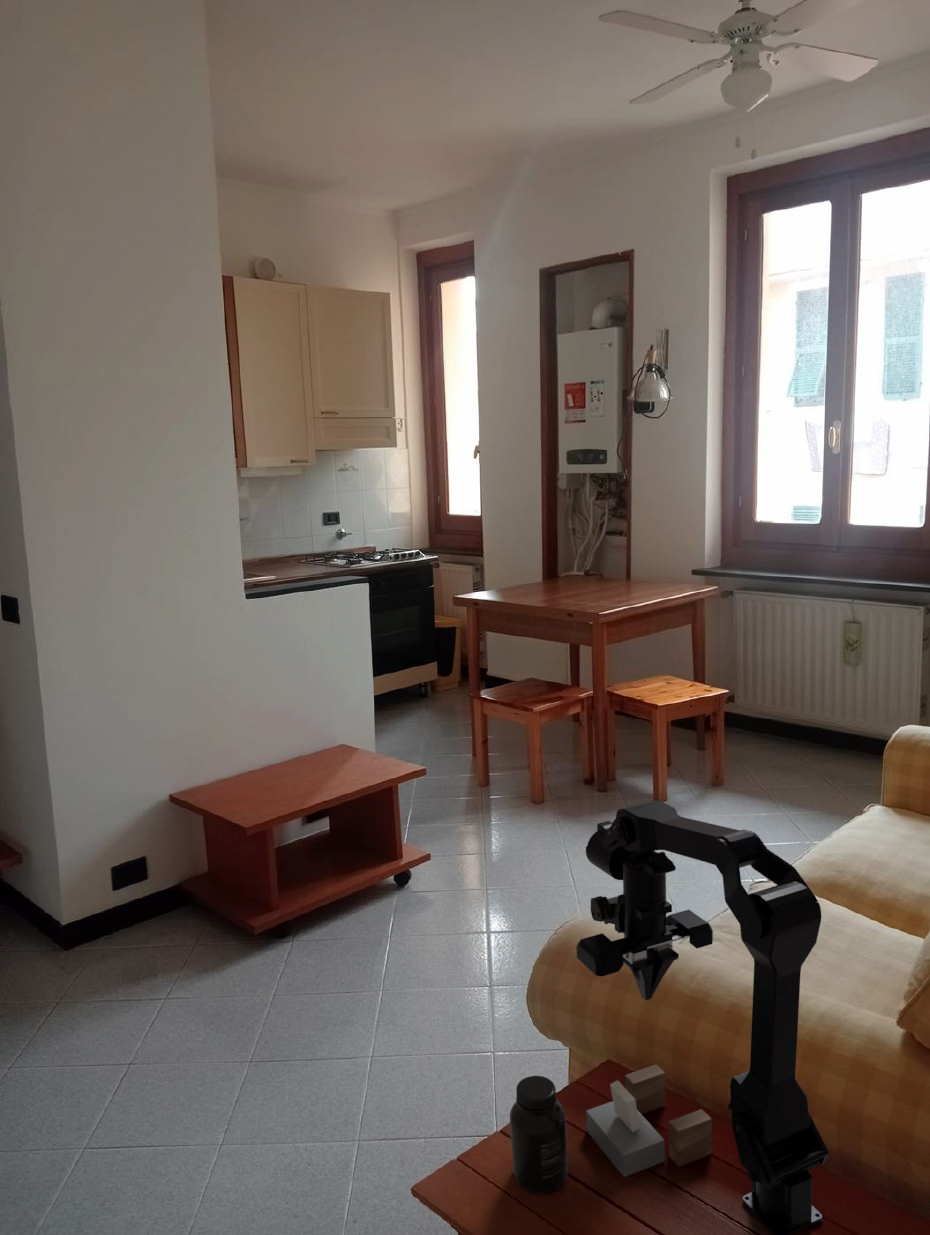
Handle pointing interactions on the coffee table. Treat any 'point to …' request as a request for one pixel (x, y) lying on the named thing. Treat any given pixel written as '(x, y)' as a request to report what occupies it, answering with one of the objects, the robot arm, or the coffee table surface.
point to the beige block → (690, 1137)
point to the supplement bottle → (538, 1136)
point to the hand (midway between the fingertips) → (646, 998)
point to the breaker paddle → (625, 1106)
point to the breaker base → (625, 1140)
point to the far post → (647, 1088)
